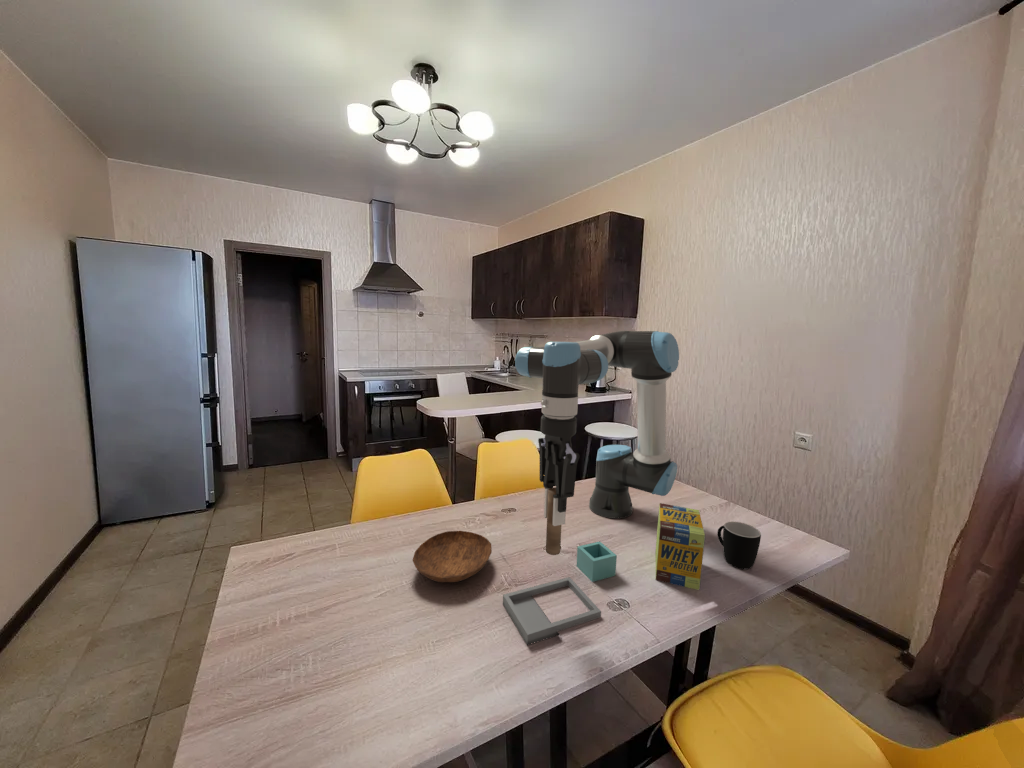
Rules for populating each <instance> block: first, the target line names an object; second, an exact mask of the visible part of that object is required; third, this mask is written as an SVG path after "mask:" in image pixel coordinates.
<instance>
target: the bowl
mask: <svg viewBox="0 0 1024 768" xmlns="http://www.w3.org/2000/svg"><path fill="white" fill-rule="evenodd" d="M492 550H493V549H492V543H491V542H490V541H489V539H488V538H487V537H485V536H483V535H481V534H478V533H475V532H471V531H467V530H466V531H464V530H449V531H448V530H447V531H444V532H441V533H438V534H435V535H433V536H431V537H429V538H427V540H425V541H424V542H422V543H421V544H420V545H419V546H418V548H417V549H416V550H415V551H414V554H413V557H412V562H413V564H414V567H415V569H417V571H418V573H420V574H421V575H422V576H424V577H425V578H428V579H429V580H431V581H435V582H438V583H459V582H462V581H465V580H466V579H469V578H470V577H473V576H474V575H476V574H477V573H479V572H480V571H481V570H482V569H483V568H484V567H485V565H486V564H487V562H488V561H489V558H490V557H491V554H492V553H493V552H492Z"/></svg>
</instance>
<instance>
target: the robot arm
mask: <svg viewBox="0 0 1024 768" xmlns="http://www.w3.org/2000/svg"><path fill="white" fill-rule="evenodd" d="M679 360H680V349H679V344H678V341H677V339H676V337H675V336H674V335H673V334H672V333H670V332H666V331H665V332H664V331H658V330H656V331H655V330H653V331H652V330H619V331H614V332H613V331H612V332H608V333H603V334H598V335H594V336H592V337H591V338H590V339H587V340H586V339H585V340H582V341H548V342H546V343H545V344H544V346H537V347H536V346H533V345H532V346H524V347H523V346H522V347H521V348H519V350H518V351H517V353H516V355H515V358H514V361H515V364H514V368H515V370H516V372H517V373H518V374H519V375H520V376H523V377H529V378H535V379H542V391H541V400H540V405H541V413H542V415H541V417H540V433H541V434H542V435H544V437H539V438H538V439H537V443H538V447H539V482H541V483H542V485H543V488H544V501H543V503H544V505H543V507H544V508H543V509H544V510H543V518H544V519H547V507H548V489H550V488H556V494H555V495H553V497H554V500H553V524H552V525H553V526H558V525H561V526H562V525H566V515H567V514H566V513H567V500H568V498H572V497H574V495H575V486H576V477H577V467H578V462H579V459H580V454H579V452H574V451H573V444H572V437H573V436H575V435H576V433H577V425H578V424H577V422H578V418H577V417H576V416H577V415H578V410H579V409H578V406H579V385H585V384H586V385H587V384H593V383H596V382H598V381H601V380H603V379H604V378H605V376H606V375H607V373H608V371H609V367H613V368H620V369H623V368H624V369H630V371H631V378H632V379H634V380H635V382H636V412H637V413H636V416H637V417H636V418H637V419H636V420H637V424H636V425H637V448H636V449H635V450H633V449H632V447H631V446H629V445H624V444H607V445H603V446H601V447H599V448H598V449H597V454H596V460H595V461H596V462H595V463H596V464H595V465H596V466H595V482H594V485H595V486H594V489H593V492H592V494H591V496H590V498H589V500H588V501H589V503H588V507H589V510H591V512H593V513H594V514H596V515H598V516H601V517H605V518H610V519H625V518H628V517H630V516H631V515H632V514H633V509H634V508H633V503H632V499H631V495H630V490H629V488H632V489H635V490H638V491H643V492H645V493H650V494H651V495H657V496H661V497H666V496H667V495H669V493H670V492H671V490H672V488H673V486H674V483H675V480H676V477H677V472H678V465H677V463H676V462H675V461H672V458H671V457H672V456H671V454H670V451H668V450H667V447H666V445H667V443H666V442H667V439H666V438H667V436H666V435H667V431H666V430H667V427H666V424H667V421H666V420H667V381H668V380H669V379H670V378H672V373H674V372H676V370H677V369H678V367H679Z"/></svg>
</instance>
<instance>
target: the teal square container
mask: <svg viewBox="0 0 1024 768" xmlns="http://www.w3.org/2000/svg"><path fill="white" fill-rule="evenodd" d="M576 551H577V553H576V564H575V566H576V567H577V568H578V570H579V571H580V572H582V573H583V574H584V576H585V577H587V579H588V580H589V581H591V583H594V582H598V581H601V580H605V579H607V578H608V579H609V578H612V577H615V576H616V575H617V574H616V572H617V558H618V557H617V556H618V555H617V554H616V553H615V552H614V551H612V550H611V549H610V548H609V547H608V546H606V545H605V544H604V543H602V542H601V540H600V541H595V542H591V543H587V544H582V545H579V546H577V549H576Z"/></svg>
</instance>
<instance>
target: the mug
mask: <svg viewBox="0 0 1024 768" xmlns="http://www.w3.org/2000/svg"><path fill="white" fill-rule="evenodd" d="M722 530H723V531H722ZM716 534H717V539H718V541H719V543H720V545H721V546H722V549H723V556H724V559H725V562H727V564H729V565H730V566H731V567H733V568H737V569H739V570H749V569H751V568H752V567H753V566H754V564H755V561H756V559H757V557H758V553H759V548H760V543H761V538H762V533H761V531H760V530H759V529H757V528H756V526H753V525H750V524H748V523H745V522H740V521H734V520H733V521H727V522H725V523H724V524H723V525H721V526H720V527H719V528H718V529H717V533H716Z"/></svg>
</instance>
